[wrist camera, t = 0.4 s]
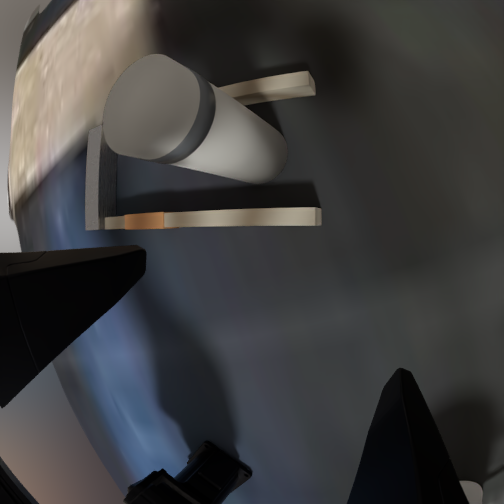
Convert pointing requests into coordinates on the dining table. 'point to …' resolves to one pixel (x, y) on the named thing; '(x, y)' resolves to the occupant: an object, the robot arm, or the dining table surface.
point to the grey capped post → (189, 124)
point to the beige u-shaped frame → (104, 211)
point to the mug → (472, 492)
